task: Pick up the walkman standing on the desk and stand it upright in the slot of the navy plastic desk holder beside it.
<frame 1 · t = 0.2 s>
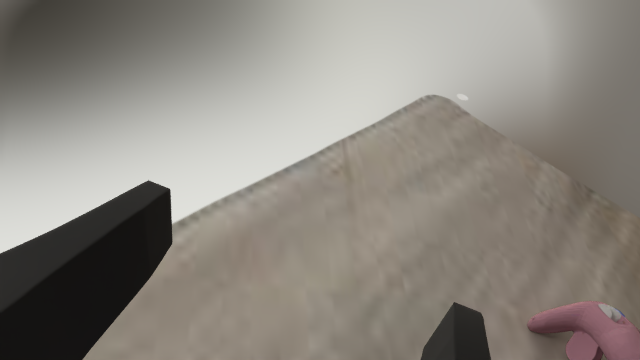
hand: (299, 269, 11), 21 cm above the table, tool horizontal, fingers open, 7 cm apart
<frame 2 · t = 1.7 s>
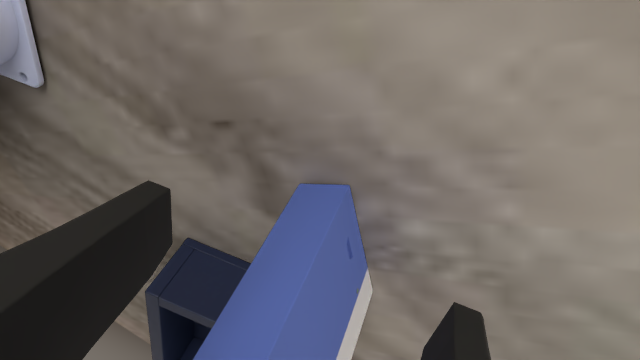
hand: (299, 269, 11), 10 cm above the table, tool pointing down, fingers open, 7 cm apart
holder: (229, 307, 33), on the table
walkman: (340, 237, 26), on the table
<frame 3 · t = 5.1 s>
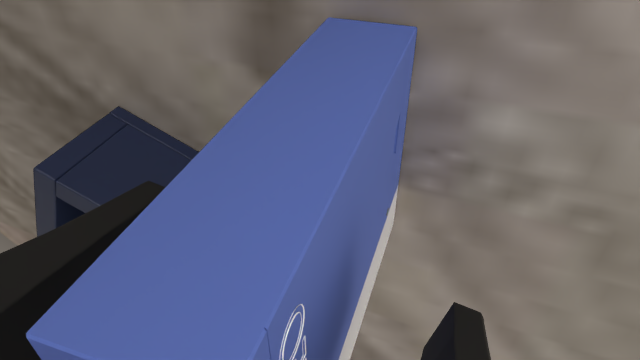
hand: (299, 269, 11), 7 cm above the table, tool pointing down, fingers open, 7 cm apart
holder: (167, 226, 23), on the table
walkman: (368, 128, 16), on the table
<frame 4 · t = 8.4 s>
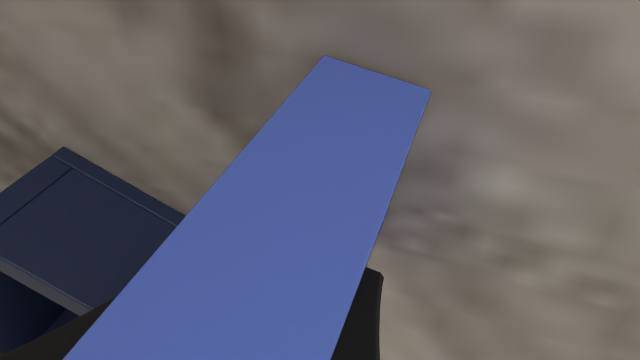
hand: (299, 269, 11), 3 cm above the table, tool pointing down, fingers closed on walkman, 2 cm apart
holder: (127, 272, 21), on the table
walkman: (349, 182, 14), on the table, touching gripper
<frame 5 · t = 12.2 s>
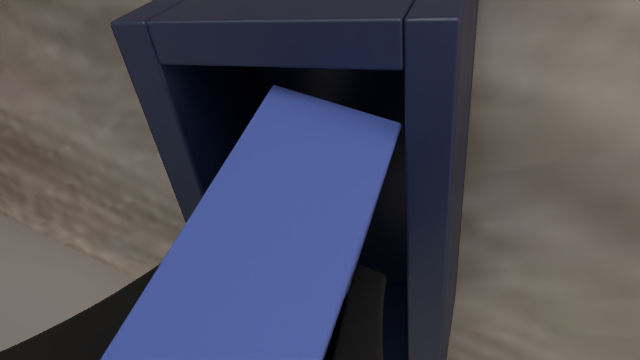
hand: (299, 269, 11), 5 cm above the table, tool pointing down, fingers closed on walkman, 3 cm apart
holder: (355, 156, 15), on the table
walkman: (326, 201, 12), point 3 cm above the table, touching gripper
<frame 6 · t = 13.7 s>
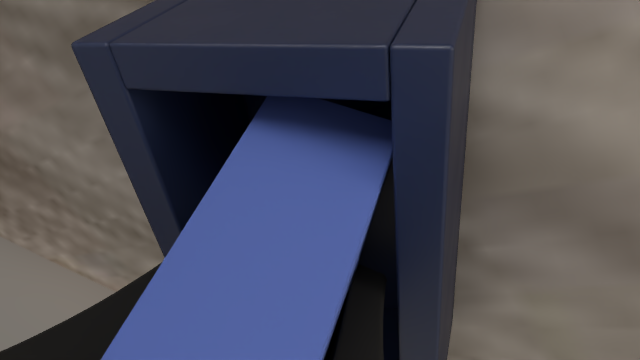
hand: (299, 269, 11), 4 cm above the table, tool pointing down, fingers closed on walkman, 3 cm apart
holder: (346, 177, 14), on the table
walkman: (327, 201, 12), point 2 cm above the table, touching gripper
when the fingers open (5 cm above the table, at t = 16.0 s): walkman drops 2 cm, resting on holder.
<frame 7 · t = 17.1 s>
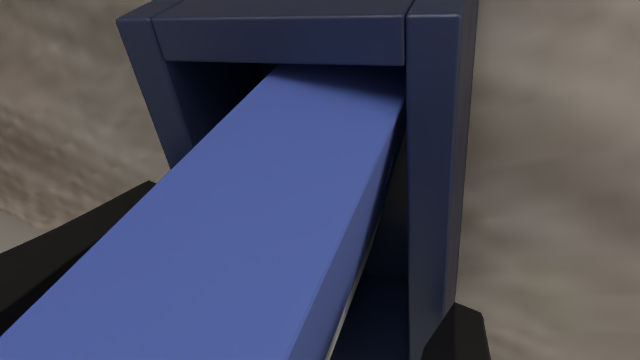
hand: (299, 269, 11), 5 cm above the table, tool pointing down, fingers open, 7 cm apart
holder: (356, 153, 15), on the table
walkman: (357, 145, 14), resting on holder
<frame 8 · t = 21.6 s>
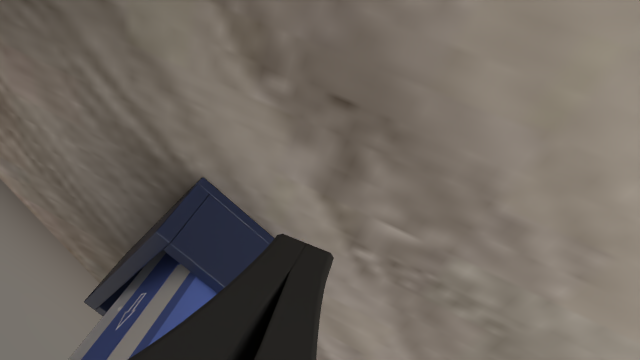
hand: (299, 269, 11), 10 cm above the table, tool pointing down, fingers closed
holder: (201, 252, 31), on the table
walkman: (204, 255, 30), resting on holder
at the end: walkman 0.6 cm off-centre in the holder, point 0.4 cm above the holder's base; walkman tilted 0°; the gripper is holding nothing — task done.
